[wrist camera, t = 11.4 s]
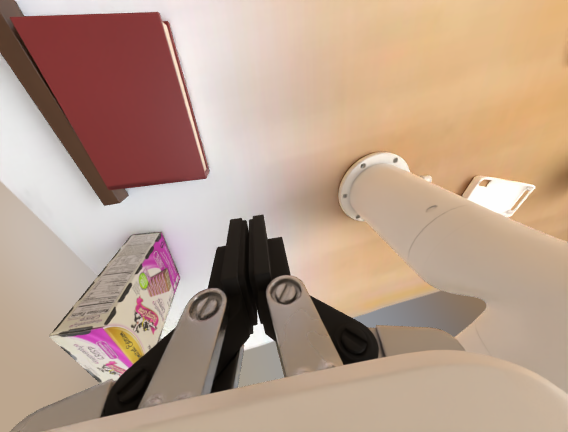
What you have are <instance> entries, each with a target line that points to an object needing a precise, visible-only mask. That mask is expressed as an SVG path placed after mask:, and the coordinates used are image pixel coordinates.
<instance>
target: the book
mask: <svg viewBox="0 0 568 432" xmlns="http://www.w3.org/2000/svg"><path fill="white" fill-rule="evenodd" d="M10 19H11V21H12V23H13V24H14V26H15V28H16V30H17V31H18V33H19V35H20V37H21V38H22V40H23V42H24V44H25V45H26V47H27V49H28V51H29V52H30V54H31V56H32V57H33V59H34V61H35V63H36V64H37V66H38V68H39V70H40V71H41V73H42V75H43V77H44V78H45V80H46V82H47V84H48V85H49V87H50V89H51V91H52V92H53V94H54V96H55V97H56V99H57V101H58V103H59V104H60V106H61V108H62V110H63V111H64V113H65V115H66V117H67V118H68V120H69V122H70V124H71V125H72V127H73V129H74V131H75V132H76V134H77V136H78V137H79V139H80V141H81V143H82V144H83V146H84V148H85V150H86V151H87V153H88V155H89V157H90V158H91V160H92V162H93V164H94V165H95V167H96V169H97V171H98V172H99V174H100V176H101V178H102V179H103V181H104V183H105V184H106V186H107V188H108V190H116V189H125V188H133V187H141V186H149V185H157V184H165V183H174V182H182V181H190V180H198V179H206V178H207V175H208V173H209V168H208V164H207V161H206V157H205V153H204V150H203V146H202V142H201V139H200V135H199V131H198V127H197V124H196V120H195V116H194V113H193V109H192V105H191V102H190V98H189V94H188V91H187V87H186V83H185V80H184V76H183V72H182V69H181V65H180V61H179V58H178V54H177V50H176V47H175V43H174V39H173V36H172V32H171V28H170V25H169V22H168V21H162V19H161V16H160V13H159V12H145V13H114V14H84V15H53V16H23V17H10Z"/></svg>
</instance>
